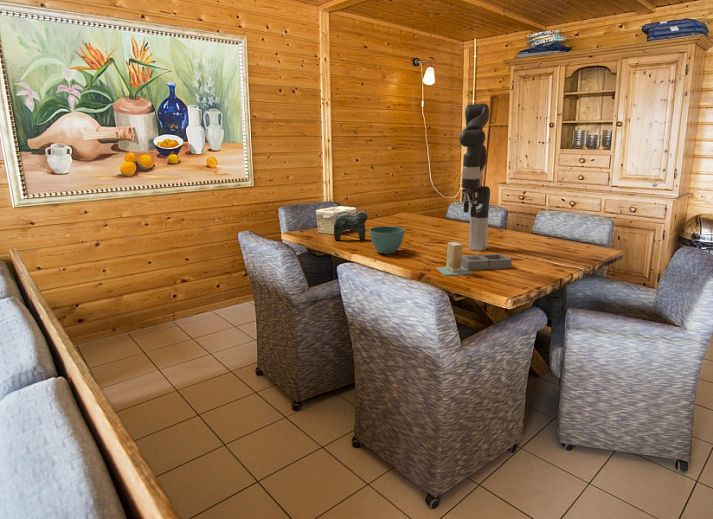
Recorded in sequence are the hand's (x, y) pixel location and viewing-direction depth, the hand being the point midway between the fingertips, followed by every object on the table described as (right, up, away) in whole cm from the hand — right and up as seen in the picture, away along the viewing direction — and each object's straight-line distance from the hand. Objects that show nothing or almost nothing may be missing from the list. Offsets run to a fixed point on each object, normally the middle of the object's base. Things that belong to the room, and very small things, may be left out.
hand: (469, 214), depth 218 cm
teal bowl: (-34, -17, +39) cm, 54 cm away
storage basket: (-63, -2, +97) cm, 116 cm away
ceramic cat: (-53, -9, +69) cm, 88 cm away
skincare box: (-7, -25, +1) cm, 26 cm away
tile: (-7, -26, +1) cm, 26 cm away
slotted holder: (+9, -23, +10) cm, 27 cm away
